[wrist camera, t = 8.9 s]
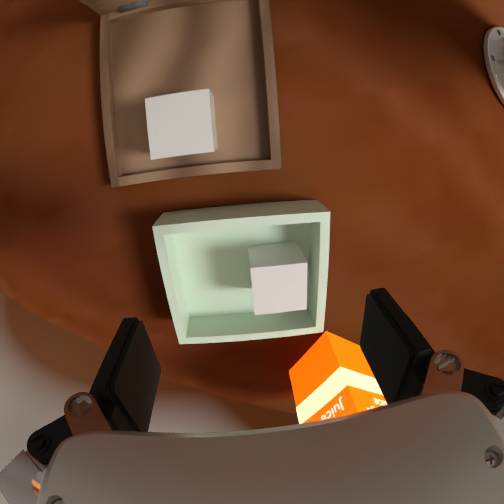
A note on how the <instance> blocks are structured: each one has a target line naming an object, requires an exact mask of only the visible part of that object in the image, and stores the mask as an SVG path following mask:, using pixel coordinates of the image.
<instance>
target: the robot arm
mask: <svg viewBox="0 0 504 504" xmlns="http://www.w3.org/2000/svg"><path fill="white" fill-rule="evenodd" d="M483 47H484V59H485V63H486V68H487V71H488V74H489V78H490V80H491V83H492V85H493V88H494V90H495V92H496V94H497V95H498V97H499V99H500V100H501V102H502V103H503V105H504V28H502V27H493V28H490V29H489V30H488V31H487V32H486V34H485V37H484V43H483ZM360 347H361V350H362V352H363V354H364V356H365V358H366V360H367V362H368V365H369V367H370V369H371V371H372V373H373V375H374V377H375V379H376V381H377V383H378V385H379V387H380V389H381V392H382V394H383V396H384V398H385V400H386V402H387V405H383V406H380V407H376V408H372V409H368V410H364V411H360V412H356V413H352V414H348V415H344V416H339V417H334V418H330V419H325V420H319V421H314V422H308V423H302V424H296V425H290V426H283V427H275V428H267V429H257V430H246V431H233V432H214V433H213V432H212V433H158V432H148V428H149V424H150V418H151V414H152V409H153V405H154V400H155V396H156V392H157V387H158V383H159V379H160V374H161V367H160V364H159V362H158V359H157V357H156V354H155V352H154V350H153V347H152V345H151V342H150V340H149V337H148V335H147V332H146V329H145V327H144V324H143V322H142V321H139V319H138V318H136V317H134V318H124V319H123V320H122V322H121V324H120V326H119V328H118V331H117V333H116V335H115V337H114V339H113V341H112V343H111V345H110V347H109V350H108V351H107V353H106V355H105V358H104V360H103V362H102V364H101V367H100V369H99V371H98V373H97V376H96V378H95V380H94V383H93V385H92V388H91V390H90V392H89V393H87V392H79V393H76V394H74V395H73V396H71V397H70V398H69V399H68V400H67V401H66V403H65V406H64V413H65V415H64V416H62V417H60V418H58V419H57V420H55V421H53V422H52V423H50V424H48V425H46V426H44V427H42V428H41V429H39V430H37V431H35V432H34V433H33V434H31V436H30V437H29V439H28V441H27V451H26V452H25V451H24V450H22V451H21V452H20V453H19V454H18V455H17V456H16V457H15V458H14V459H13V460H12V461H11V462H10V463H9V464H8V465H7V466H6V467H5V468H4V469H3V470H2V471H1V472H0V491H1V492H2V494H3V496H4V497H5V499H6V500H7V502H8V503H9V504H504V381H503V380H502V379H499V378H497V377H493V376H489V375H486V374H482V373H479V372H475V371H472V370H468V369H465V368H464V362H463V359H462V358H461V357H460V356H459V355H458V354H457V353H455V352H452V351H449V350H442V351H438V352H436V353H435V352H434V350H433V349H432V347H431V346H430V345H429V343H428V342H427V341H426V339H425V338H424V337H423V335H422V334H421V333H420V331H419V330H418V329H417V327H416V326H415V325H414V323H413V322H412V321H411V319H410V318H409V317H408V316H407V315H406V314H405V313H404V312H403V310H402V309H401V308H400V306H399V305H398V304H397V303H396V301H395V300H394V299H393V298H392V296H391V295H390V294H389V293H388V291H387V290H386V289H385V288H379V289H374V290H371V291H370V294H367V296H366V304H365V312H364V319H363V326H362V333H361V339H360Z"/></svg>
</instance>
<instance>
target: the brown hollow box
mask: <svg viewBox="0 0 504 504" xmlns="http://www.w3.org/2000/svg"><path fill="white" fill-rule="evenodd" d="M79 1H80V2H82V3H83V4H85V5H86V6H88V7H89V8H90V9H92V10H93V11H95V12H96V13H97V14H99V15H100V16H101V22H100V86H101V104H102V117H103V128H104V137H105V146H106V154H107V162H108V169H109V175H110V181H111V188H114V187H120V186H125V185H132V184H138V183H145V182H151V181H158V180H166V179H173V178H181V177H190V176H199V175H208V174H218V173H229V172H241V171H254V170H269V169H281V149H280V131H279V115H278V99H277V85H276V72H275V60H274V48H273V37H272V26H271V16H270V6H269V0H79ZM202 89H210V91H211V93H212V94H213V96H214V107H215V120H216V132H217V144H218V148H217V149H216V150H215V151H214V152H207V153H198V154H189V155H182V156H174V157H167V158H160V159H154V160H151V157H150V148H149V139H148V129H147V118H146V106H145V99H146V98H151V97H156V96H162V95H167V94H173V93H180V92H187V91H194V90H202Z"/></svg>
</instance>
